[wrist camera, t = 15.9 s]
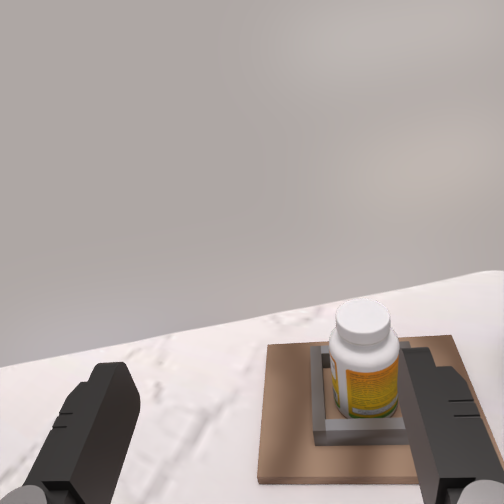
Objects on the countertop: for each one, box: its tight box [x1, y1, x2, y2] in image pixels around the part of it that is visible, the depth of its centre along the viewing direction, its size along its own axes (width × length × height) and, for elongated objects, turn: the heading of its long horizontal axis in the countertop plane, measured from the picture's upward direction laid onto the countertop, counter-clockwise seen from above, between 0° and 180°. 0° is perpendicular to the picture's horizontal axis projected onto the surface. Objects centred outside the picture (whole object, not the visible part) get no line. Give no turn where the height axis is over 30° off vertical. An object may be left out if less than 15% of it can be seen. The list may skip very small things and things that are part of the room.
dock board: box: [257, 335, 504, 484], centre depth 38 cm, size 18×14×3 cm
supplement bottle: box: [329, 298, 400, 419], centre depth 35 cm, size 5×5×10 cm
